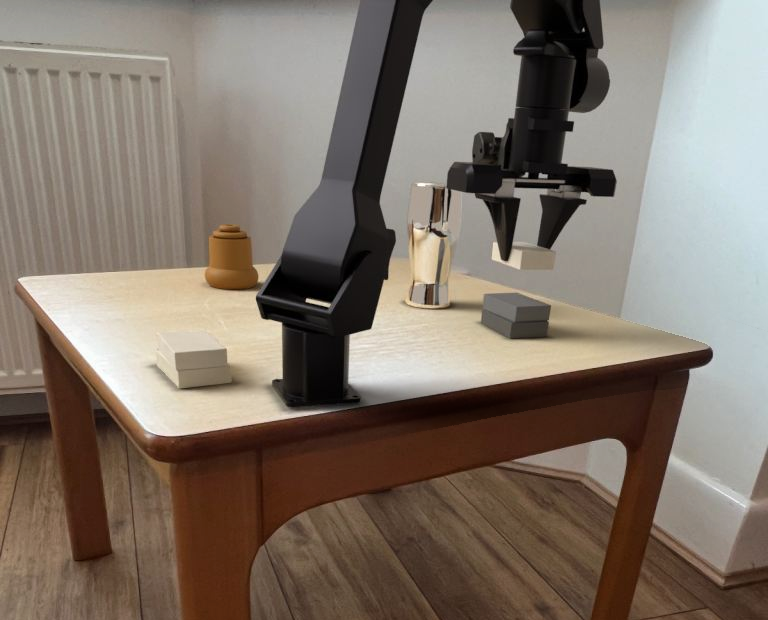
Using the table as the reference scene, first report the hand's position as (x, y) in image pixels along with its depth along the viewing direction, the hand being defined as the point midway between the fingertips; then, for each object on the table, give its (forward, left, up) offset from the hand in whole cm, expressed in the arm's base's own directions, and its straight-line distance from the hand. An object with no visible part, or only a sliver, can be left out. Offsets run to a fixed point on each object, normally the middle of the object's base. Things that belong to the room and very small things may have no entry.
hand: (522, 260), depth 87 cm
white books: (-11, +40, -8) cm, 42 cm away
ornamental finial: (+30, +29, -8) cm, 43 cm away
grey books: (0, 0, -8) cm, 8 cm away
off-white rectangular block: (0, 0, 0) cm, 0 cm away
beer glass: (+15, +5, -8) cm, 18 cm away
